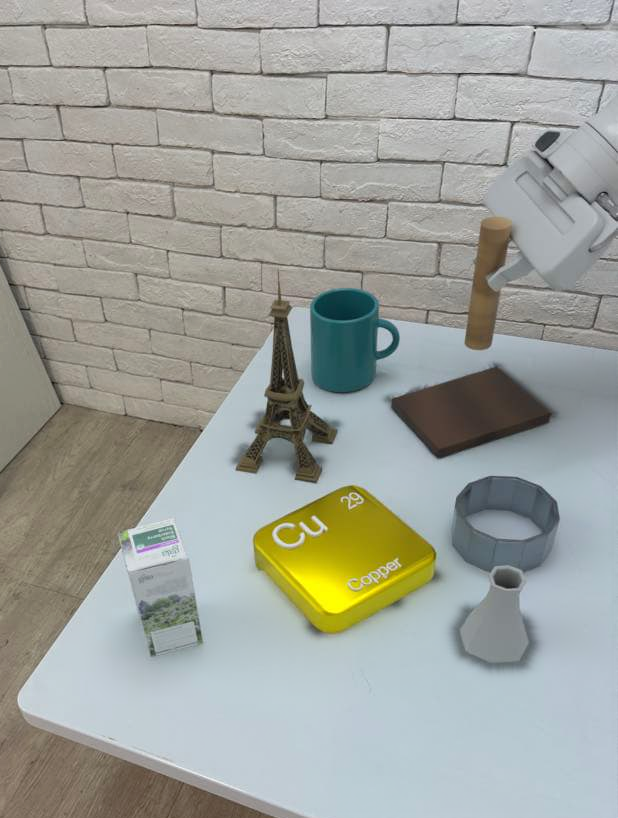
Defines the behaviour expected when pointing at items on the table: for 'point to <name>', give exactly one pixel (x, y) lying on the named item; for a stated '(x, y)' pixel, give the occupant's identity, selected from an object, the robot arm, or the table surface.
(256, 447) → the eiffel tower
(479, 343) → the stick
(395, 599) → the element tile
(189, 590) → the syrup box
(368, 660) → the table surface
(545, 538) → the ring
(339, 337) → the cup
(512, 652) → the flask
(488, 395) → the board
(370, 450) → the table surface
